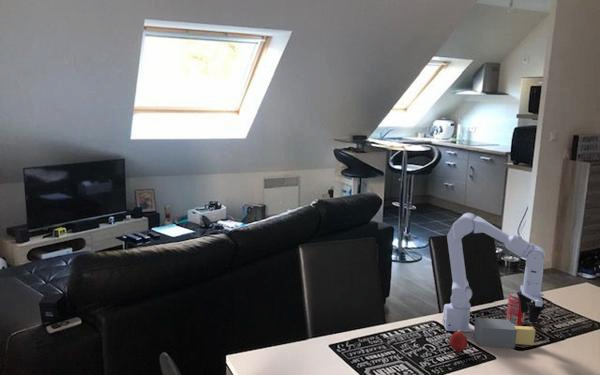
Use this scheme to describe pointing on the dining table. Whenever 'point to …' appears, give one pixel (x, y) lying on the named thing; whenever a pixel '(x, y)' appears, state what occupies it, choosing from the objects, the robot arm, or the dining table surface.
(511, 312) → the beverage can
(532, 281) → the robot arm
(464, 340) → the onion
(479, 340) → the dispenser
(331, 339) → the dining table surface
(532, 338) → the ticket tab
